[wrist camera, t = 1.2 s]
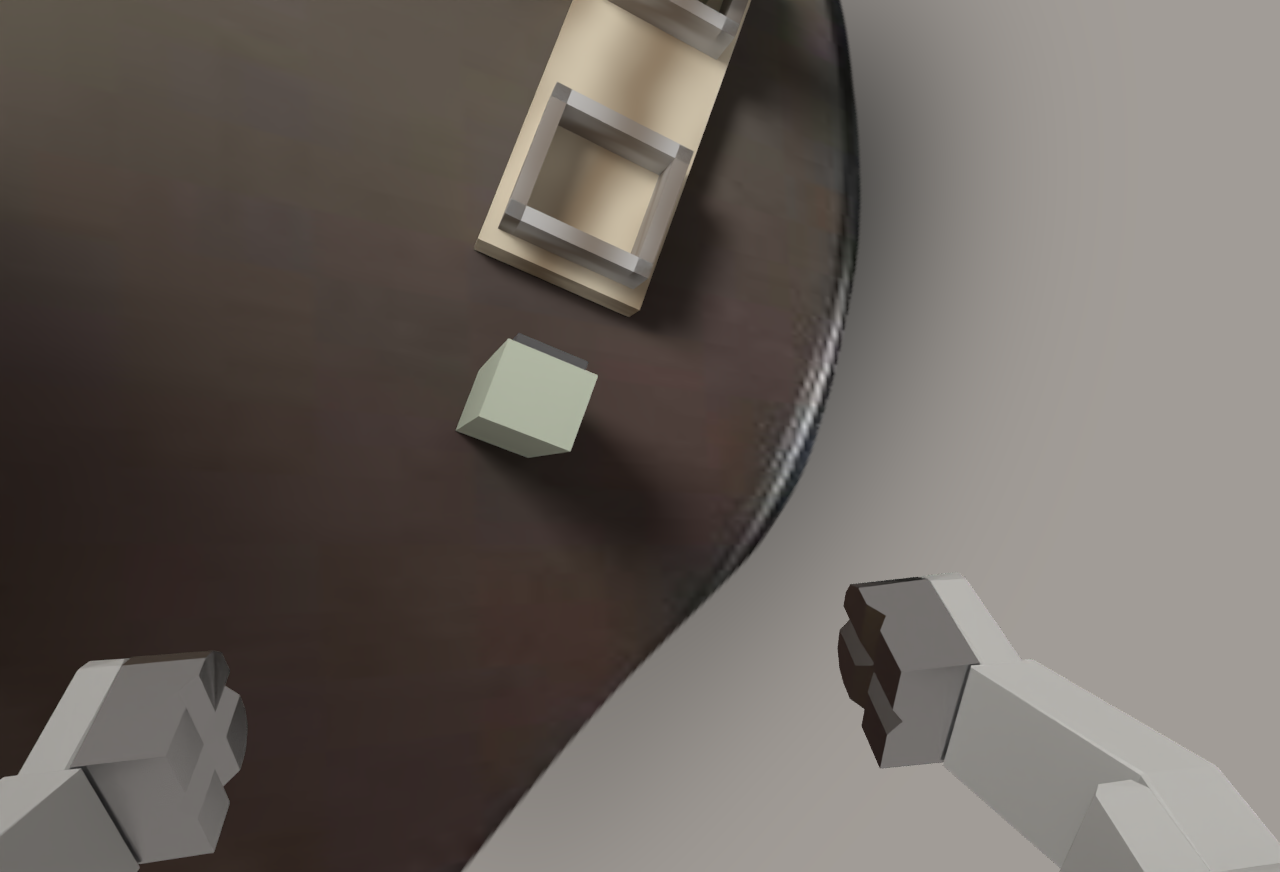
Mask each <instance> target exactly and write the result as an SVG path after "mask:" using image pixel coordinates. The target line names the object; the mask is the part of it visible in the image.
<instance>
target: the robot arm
mask: <svg viewBox="0 0 1280 872" xmlns="http://www.w3.org/2000/svg"><path fill="white" fill-rule="evenodd" d="M844 608H845V610H846V612H847V614H848V617H849V619H850V620H849V621H848V622H847V623H846V624H845V625H844V626H843V627H842V628H841V629H840V633H839V641H838V657H839V668H840V671H841V675H842V679H843V683H844V685H845V688H846V690H847V692H848V695H849V697H850V699H851V700H853V701H854V702H855V703H857V704H858V705H860V706H861V707H862V708H864V709H865V710H864V716H863V721H862V728H863V730H864V733H865V735H866V737H867V739H868V742H869V744H870V746H871V749H872V751H873V753H874V756H875V758H876V760H877V763H878V765H879V767H880V768H890V767H900V766H910V765H920V764H931V763H941V762H944V763H943V766H944V767H945V768H946V769H947V770H948V771H949V772H951V773H952V774H953V775H954V776H955V777H956V778H958V779H959V780H960V781H961V782H962V783H963V784H964V785H966V786H967V787H968V788H969V789H970V790H971V791H972V792H974V793H975V794H976V795H977V796H978V797H979V798H980V799H982V800H983V801H984V802H985V803H986V804H987V805H988V806H990V807H991V808H992V809H993V810H994V811H995V812H996V813H998V814H999V815H1000V816H1001V817H1002V818H1003V819H1004V820H1006V821H1007V822H1008V823H1009V824H1010V825H1011V826H1013V827H1014V828H1015V829H1016V830H1017V831H1018V832H1019V833H1020V834H1022V835H1023V836H1024V837H1025V838H1026V839H1027V840H1028V841H1030V842H1031V843H1032V844H1033V845H1034V846H1035V847H1037V848H1038V849H1039V850H1040V851H1041V852H1042V853H1043V854H1045V855H1046V856H1047V857H1048V858H1049V859H1050V860H1051V861H1053V862H1054V863H1055V864H1056V865H1057V866H1058V867H1060V868H1061V870H1060V872H1280V843H1279V842H1278V841H1277V839H1276V838H1275V837H1274V836H1273V834H1272V833H1271V832H1270V831H1269V830H1268V828H1267V827H1266V826H1265V825H1264V823H1263V822H1262V821H1261V820H1260V819H1259V817H1258V816H1257V815H1256V814H1255V812H1254V811H1253V810H1252V809H1251V808H1250V806H1249V805H1248V804H1247V802H1246V801H1245V800H1244V799H1243V798H1242V796H1241V795H1240V794H1239V793H1238V791H1237V790H1236V789H1235V788H1234V787H1233V785H1232V784H1231V783H1230V782H1229V780H1228V779H1227V778H1226V777H1225V775H1224V774H1223V773H1222V772H1221V771H1220V769H1219V768H1218V767H1217V766H1216V765H1214V764H1212V763H1210V762H1209V761H1207V760H1205V759H1204V758H1202V757H1200V756H1199V755H1197V754H1195V753H1193V752H1191V751H1190V750H1188V749H1186V748H1185V747H1183V746H1181V745H1180V744H1178V743H1176V742H1174V741H1173V740H1171V739H1169V738H1168V737H1166V736H1164V735H1162V734H1160V733H1159V732H1157V731H1155V730H1154V729H1152V728H1150V727H1149V726H1147V725H1145V724H1143V723H1142V722H1140V721H1138V720H1137V719H1135V718H1133V717H1131V716H1130V715H1128V714H1126V713H1124V712H1123V711H1121V710H1119V709H1118V708H1116V707H1114V706H1113V705H1111V704H1109V703H1107V702H1106V701H1104V700H1102V699H1100V698H1099V697H1097V696H1095V695H1094V694H1092V693H1090V692H1088V691H1087V690H1085V689H1083V688H1082V687H1080V686H1078V685H1076V684H1075V683H1073V682H1071V681H1070V680H1068V679H1066V678H1064V677H1063V676H1061V675H1059V674H1058V673H1056V672H1054V671H1052V670H1051V669H1049V668H1047V667H1046V666H1044V665H1042V664H1040V663H1039V662H1037V661H1035V660H1033V659H1028V660H1021V658H1020V656H1019V655H1018V654H1017V652H1016V651H1015V649H1014V648H1013V646H1012V645H1011V643H1010V642H1009V640H1008V639H1007V637H1006V636H1005V635H1004V633H1003V632H1002V630H1001V629H1000V627H999V626H998V624H997V623H996V621H995V620H994V619H993V617H992V616H991V614H990V613H989V611H988V610H987V608H986V607H985V605H984V604H983V603H982V601H981V600H980V598H979V597H978V595H977V594H976V592H975V591H974V590H973V588H972V586H971V585H970V584H969V582H968V581H967V579H966V578H965V577H964V576H963V575H961V574H960V573H958V572H954V573H945V574H937V575H928V576H922V577H911V578H903V579H894V580H885V581H876V582H867V583H858V584H850V586H849V588H848V590H847V591H846V595H845V601H844ZM229 672H230V669H229V667H228V665H227V663H226V661H225V659H224V656H223V654H222V652H217V651H201V652H189V653H176V654H163V655H151V656H138V657H131V658H124V659H111V660H98V661H89V662H88V663H86V664H85V665H84V666H82V667H81V668H80V669H78V671H77V672H76V673H75V675H74V677H73V679H72V680H71V682H70V684H69V686H68V687H67V689H66V691H65V693H64V694H63V696H62V698H61V700H60V701H59V703H58V705H57V707H56V708H55V710H54V712H53V714H52V715H51V717H50V719H49V721H48V722H47V724H46V726H45V728H44V730H43V731H42V733H41V735H40V737H39V738H38V740H37V742H36V744H35V745H34V747H33V749H32V751H31V752H30V754H29V756H28V758H27V759H26V761H25V763H24V765H23V766H22V768H21V770H20V772H19V773H18V775H16V776H9V777H3V778H2V779H1V780H0V872H137V871H138V870H139V869H140V866H139V865H138V864H143V863H149V862H156V861H162V860H169V859H175V858H182V857H188V856H195V855H201V854H208V853H214V851H215V848H216V845H217V842H218V838H219V835H220V832H221V829H222V826H223V823H224V820H225V816H226V813H227V810H228V807H229V804H230V801H229V799H228V797H227V795H226V792H225V790H224V788H223V786H224V785H225V784H226V783H227V782H228V781H229V780H230V779H231V778H232V777H233V776H234V775H235V774H236V773H238V772H239V771H240V768H241V765H242V761H243V758H244V754H245V751H246V742H247V728H248V724H247V718H246V712H245V707H244V705H243V702H242V699H241V697H240V695H239V694H237V693H236V692H234V691H233V690H231V689H229V688H228V687H226V686H225V684H226V681H227V678H228V675H229Z"/></svg>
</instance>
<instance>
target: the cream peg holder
mask: <svg viewBox="0 0 1280 872" xmlns="http://www.w3.org/2000/svg"><path fill="white" fill-rule="evenodd" d="M750 2H751V0H573V1H572V3H571V6H570V8H569V11H568V14H567V16H566V19H565V21H564V24H563V26H562V29H561V31H560V34H559V36H558V39H557V41H556V44H555V46H554V49H553V51H552V54H551V56H550V59H549V61H548V64H547V66H546V69H545V71H544V74H543V76H542V79H541V81H540V84H539V86H538V89H537V91H536V94H535V96H534V99H533V101H532V104H531V106H530V109H529V111H528V114H527V116H526V119H525V121H524V124H523V126H522V129H521V131H520V134H519V136H518V139H517V141H516V144H515V147H514V149H513V152H512V154H511V157H510V159H509V162H508V164H507V167H506V169H505V172H504V174H503V177H502V179H501V182H500V184H499V187H498V189H497V192H496V194H495V197H494V199H493V202H492V204H491V207H490V209H489V212H488V214H487V217H486V219H485V222H484V224H483V227H482V229H481V232H480V234H479V237H478V239H477V242H476V244H475V247H474V250H477V251H479V252H481V253H484V254H486V255H488V256H490V257H493V258H495V259H497V260H499V261H502V262H504V263H506V264H509V265H511V266H513V267H515V268H518V269H520V270H522V271H525V272H527V273H529V274H531V275H534V276H536V277H538V278H540V279H543V280H545V281H547V282H550V283H552V284H554V285H556V286H559V287H561V288H563V289H565V290H568V291H570V292H572V293H575V294H577V295H579V296H581V297H584V298H586V299H588V300H590V301H593V302H595V303H597V304H600V305H602V306H604V307H606V308H609V309H611V310H613V311H615V312H618V313H620V314H622V315H625V316H627V317H630V316H632V315H633V314H635V313H636V312H638V311H639V310H640V308H641V305H642V302H643V300H644V297H645V294H646V291H647V289H648V286H649V283H650V280H651V277H652V275H653V272H654V269H655V266H656V264H657V261H658V258H659V255H660V252H661V250H662V247H663V244H664V241H665V239H666V236H667V233H668V230H669V227H670V225H671V222H672V219H673V216H674V214H675V211H676V208H677V205H678V202H679V200H680V197H681V194H682V191H683V189H684V186H685V183H686V180H687V177H688V175H689V172H690V169H691V166H692V164H693V161H694V158H695V155H696V152H697V150H698V147H699V144H700V141H701V139H702V136H703V133H704V130H705V127H706V125H707V122H708V119H709V116H710V114H711V111H712V108H713V105H714V102H715V100H716V97H717V94H718V91H719V89H720V86H721V83H722V80H723V77H724V75H725V72H726V69H727V66H728V64H729V61H730V58H731V55H732V52H733V50H734V47H735V44H736V41H737V39H738V36H739V33H740V30H741V27H742V25H743V22H744V19H745V16H746V14H747V11H748V8H749V5H750Z"/></svg>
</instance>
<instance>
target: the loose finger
mask: <svg viewBox="0 0 1280 872" xmlns="http://www.w3.org/2000/svg"><path fill="white" fill-rule="evenodd" d="M587 364H588V362H587V361H585V360H583V359H580V358H578V357H575V356H573V355H571V354H568V353H566V352H564V351H561V350H559V349H556V348H554V347H552V346H549V345H547V344H544V343H542V342H540V341H537V340H535V339H532V338H530V337H528V336H525V335H523V334H520V333H518V334H517V335H516V336H515V337H514V338H513V339H512V340H511V339H509V338H508V339H507V341H506V342H505V343H504V344H503V345H502V346H501V347H500V348H499V349H498V350H497V351H496V352H495V353H494V354H493V355H492V357H491V358H490V359H489V360H488V361H487V362H486V363H485V364H484V365H483V366H482V367H481V368H480V369H479V371H478V374H477V377H476V379H475V382H474V384H473V387H472V390H471V392H470V395H469V397H468V400H467V402H466V405H465V408H464V410H463V413H462V415H461V418H460V420H459V423H458V426H457V428H456V431H458V432H460V433H463V434H466V435H468V436H471V437H474V438H476V439H479V440H482V441H484V442H487V443H490V444H492V445H495V446H498V447H500V448H503V449H506V450H508V451H511V452H513V453H516V454H519V455H521V456H524V457H527V458H532V457H538V456H545V455H551V454H558V453H564V452H570V451H571V449H572V446H573V443H574V441H575V438H576V435H577V432H578V430H579V427H580V424H581V421H582V419H583V416H584V413H585V410H586V408H587V405H588V402H589V399H590V397H591V394H592V391H593V388H594V386H595V383H596V380H597V377H598V375H596V374H593V373H591V372H589V371H586V367H587Z"/></svg>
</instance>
